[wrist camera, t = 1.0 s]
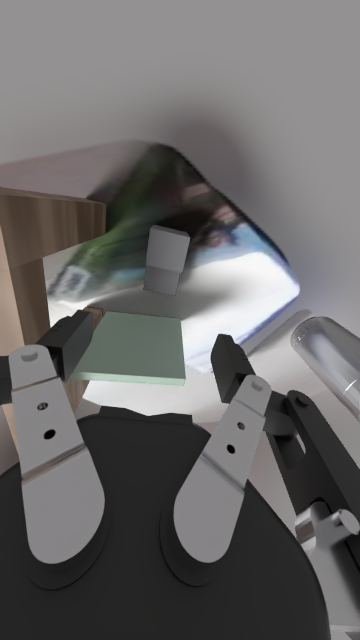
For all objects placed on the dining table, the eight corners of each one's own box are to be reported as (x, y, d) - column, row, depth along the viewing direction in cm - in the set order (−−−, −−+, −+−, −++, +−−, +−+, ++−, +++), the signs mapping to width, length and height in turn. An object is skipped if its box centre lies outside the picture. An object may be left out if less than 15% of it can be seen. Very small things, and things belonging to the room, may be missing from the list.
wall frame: (106, 203, 27) (-6, 193, 10) (100, 357, 41) (48, 466, 23) (84, 198, 27) (-74, 177, 10) (86, 355, 40) (22, 465, 23)
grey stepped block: (186, 232, 30) (190, 237, 24) (174, 287, 34) (175, 302, 28) (154, 224, 29) (150, 228, 23) (146, 281, 33) (141, 295, 28)
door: (178, 329, 38) (182, 392, 25) (107, 322, 36) (71, 386, 23) (180, 318, 36) (185, 379, 23) (106, 311, 35) (68, 371, 22)
